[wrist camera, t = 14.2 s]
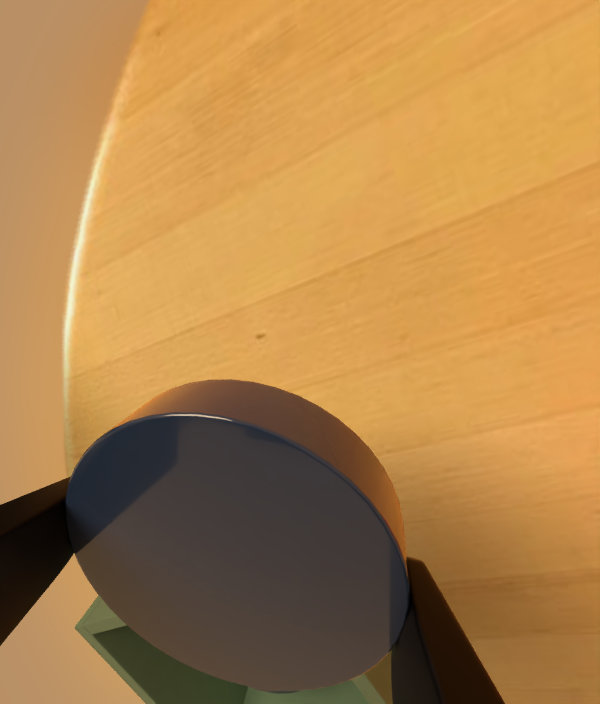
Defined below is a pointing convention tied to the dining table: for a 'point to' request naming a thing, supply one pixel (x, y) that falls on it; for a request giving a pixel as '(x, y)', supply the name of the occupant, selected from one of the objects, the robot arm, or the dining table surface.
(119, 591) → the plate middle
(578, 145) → the dining table surface
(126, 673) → the tub
